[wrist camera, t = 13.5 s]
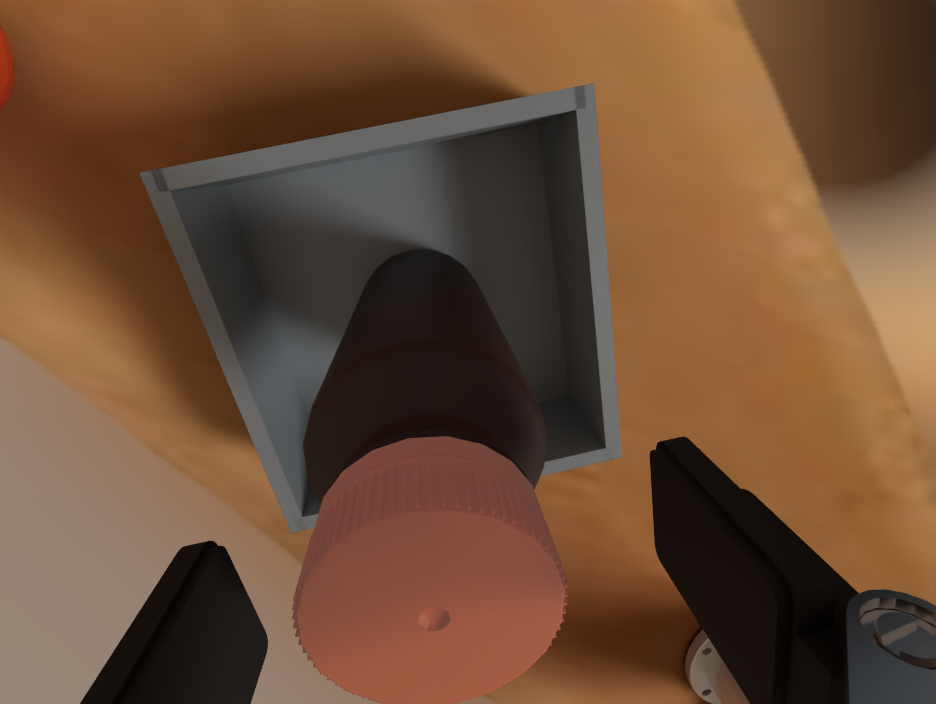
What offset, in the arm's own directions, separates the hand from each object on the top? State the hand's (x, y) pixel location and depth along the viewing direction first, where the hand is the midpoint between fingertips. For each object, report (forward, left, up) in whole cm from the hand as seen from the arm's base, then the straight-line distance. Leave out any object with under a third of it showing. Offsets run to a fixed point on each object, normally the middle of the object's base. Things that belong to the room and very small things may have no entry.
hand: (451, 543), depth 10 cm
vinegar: (0, 0, -18) cm, 18 cm away
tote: (0, 0, -19) cm, 19 cm away
